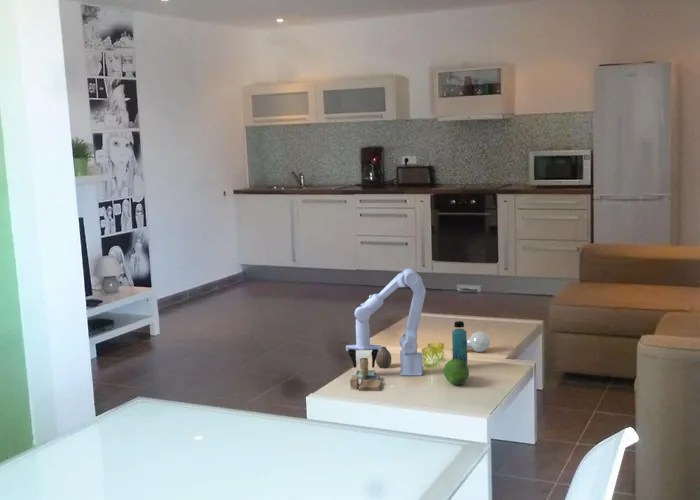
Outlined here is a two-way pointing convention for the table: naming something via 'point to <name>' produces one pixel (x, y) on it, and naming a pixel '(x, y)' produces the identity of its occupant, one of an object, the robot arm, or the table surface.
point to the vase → (383, 358)
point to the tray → (370, 372)
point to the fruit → (456, 371)
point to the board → (370, 385)
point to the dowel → (364, 366)
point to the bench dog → (354, 382)
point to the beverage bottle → (459, 342)
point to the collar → (370, 377)
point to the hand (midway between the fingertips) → (364, 367)
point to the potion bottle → (478, 342)
